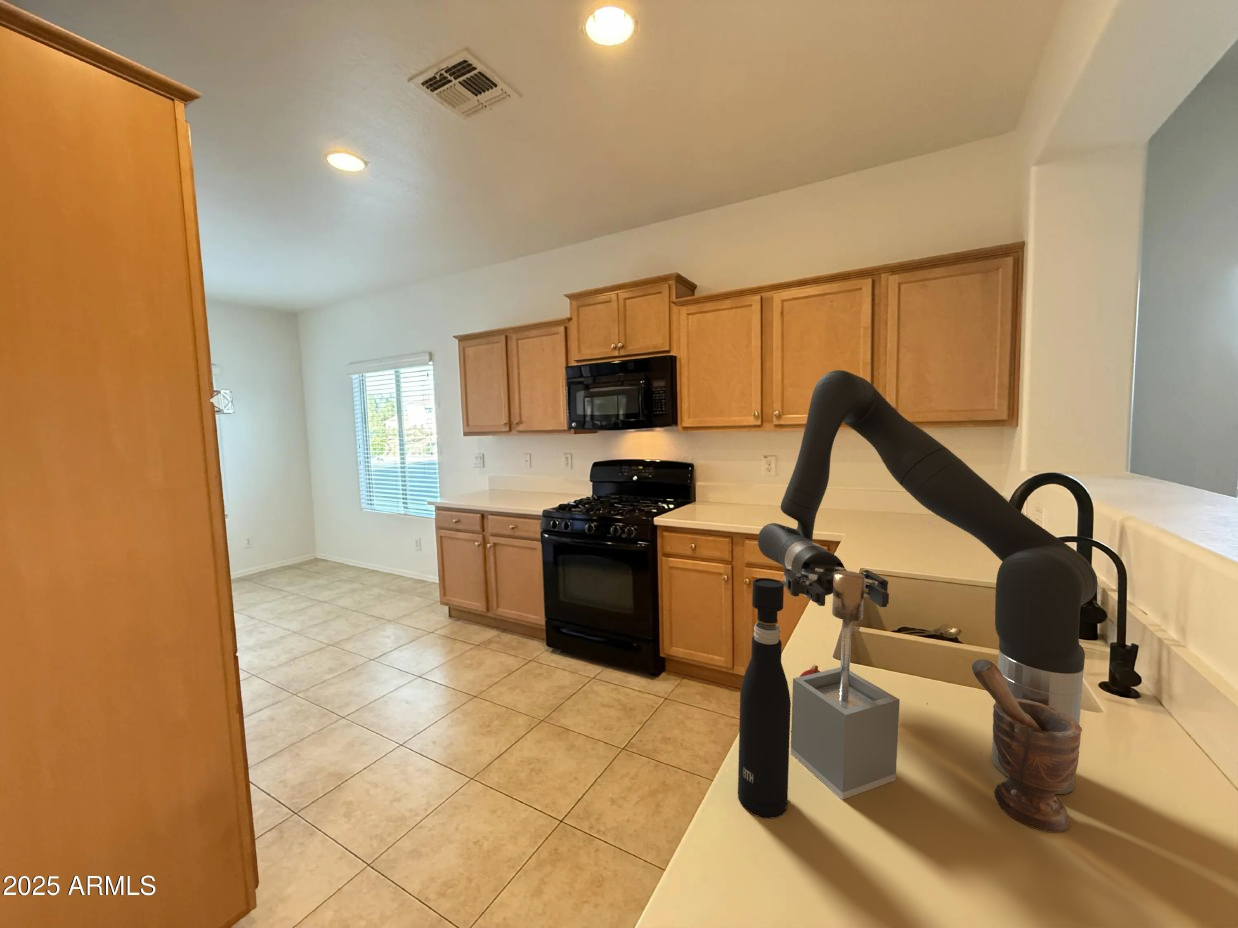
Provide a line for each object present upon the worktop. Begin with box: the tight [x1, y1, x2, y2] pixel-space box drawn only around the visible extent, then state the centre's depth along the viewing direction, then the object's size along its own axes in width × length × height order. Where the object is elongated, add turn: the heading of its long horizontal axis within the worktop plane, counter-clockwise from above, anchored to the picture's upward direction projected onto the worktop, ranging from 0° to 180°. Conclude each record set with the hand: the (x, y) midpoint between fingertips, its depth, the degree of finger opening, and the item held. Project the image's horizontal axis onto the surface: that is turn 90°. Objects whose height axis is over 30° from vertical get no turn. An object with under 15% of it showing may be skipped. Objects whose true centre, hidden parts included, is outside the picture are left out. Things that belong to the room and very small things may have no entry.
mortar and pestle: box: [971, 658, 1083, 833], centre depth 63 cm, size 12×9×20 cm
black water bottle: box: [737, 577, 792, 819], centre depth 64 cm, size 6×6×30 cm
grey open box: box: [790, 666, 901, 800], centre depth 71 cm, size 10×10×12 cm
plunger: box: [816, 570, 873, 709], centre depth 70 cm, size 7×7×19 cm
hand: (853, 599), depth 68 cm, fingers open, 8 cm apart
